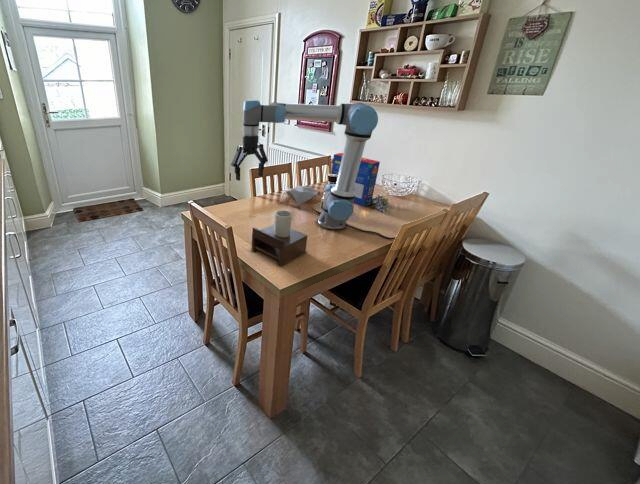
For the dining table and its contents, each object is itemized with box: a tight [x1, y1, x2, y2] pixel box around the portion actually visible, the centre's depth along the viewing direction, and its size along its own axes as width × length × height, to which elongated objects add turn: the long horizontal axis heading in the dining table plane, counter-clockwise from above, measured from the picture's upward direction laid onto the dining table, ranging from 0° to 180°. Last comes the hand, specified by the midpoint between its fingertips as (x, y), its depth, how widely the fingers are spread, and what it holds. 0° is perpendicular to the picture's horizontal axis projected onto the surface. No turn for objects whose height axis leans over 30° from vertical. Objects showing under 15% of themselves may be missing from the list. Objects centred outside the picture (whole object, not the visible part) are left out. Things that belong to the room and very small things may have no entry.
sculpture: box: [280, 185, 322, 208], centre depth 213 cm, size 25×19×10 cm
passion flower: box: [370, 193, 390, 213], centre depth 201 cm, size 11×11×12 cm
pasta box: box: [330, 152, 381, 208], centre depth 213 cm, size 28×8×28 cm, turn 39°
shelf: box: [251, 223, 308, 267], centre depth 151 cm, size 18×18×12 cm
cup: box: [273, 209, 293, 237], centre depth 149 cm, size 8×8×10 cm
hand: (249, 177), depth 163 cm, fingers open, 13 cm apart
